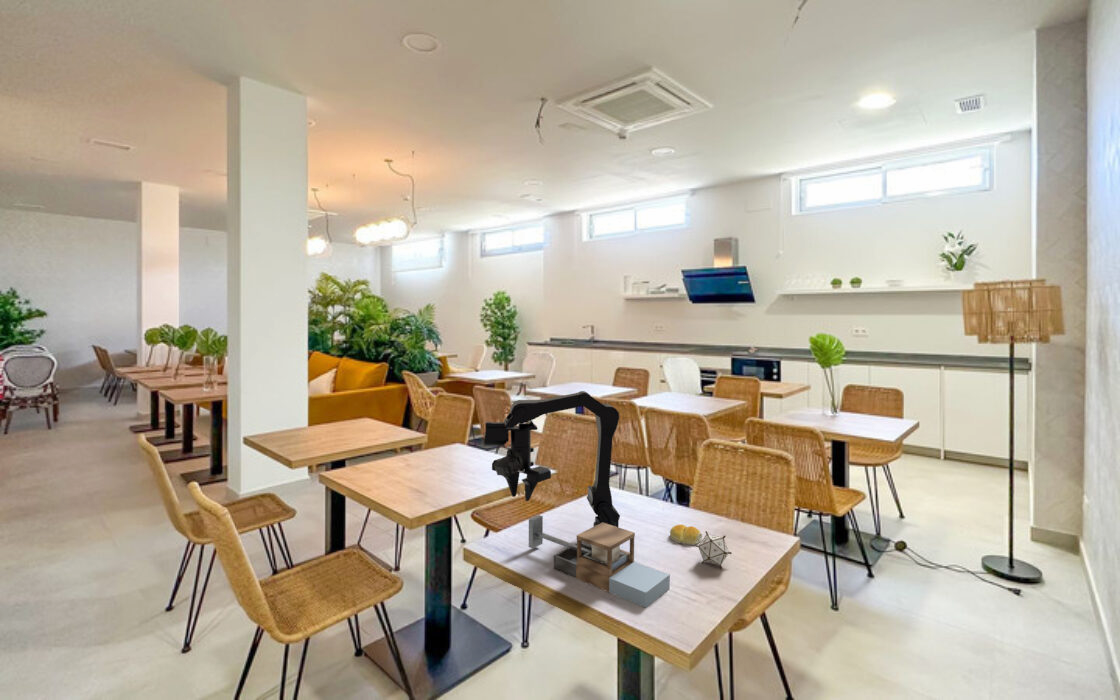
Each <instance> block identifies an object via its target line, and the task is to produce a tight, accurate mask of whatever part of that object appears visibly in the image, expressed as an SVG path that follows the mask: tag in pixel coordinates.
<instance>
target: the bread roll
mask: <svg viewBox="0 0 1120 700" xmlns="http://www.w3.org/2000/svg"><path fill="white" fill-rule="evenodd" d="M669 534H670V535H669V536H670V538H671V540H673V542H675V543H678V544H683V545H689V546H695V545H699V544H700V543H701V541H702V540H703V539H702V537H703V534H702V533H701V531H700V530H699V529H698V528H697V527H694V526H687V525H684V524H676V525H674V526H672V528H670V530H669Z"/></svg>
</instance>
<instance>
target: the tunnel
mask: <svg viewBox="0 0 1120 700" xmlns="http://www.w3.org/2000/svg"><path fill="white" fill-rule="evenodd" d="M635 535H636V532H634V531H630V530H628V529H624V528H621V527H620V526H618V527H616V526H612V525H609V524H606V523H603V522H602V523H600V524H598V525H596V526H594V525H593V527H590V528H588V529H587V530H585V531H582V532H581V533H579V534H576V543H574V545H577V551H576V550H573V549H570V548H568V547H566V548H565V549H564V550H562V551H559V552H558V553H556V554H554V555H553V570H554V571H555V570H556V572H557V571H558V572H560V573H563V574H565V575H567V576H569V577H572V578H574V579H577V580H579V581H582V582H583V583H586V584H589V585H591V586H594V587H596V588H598V589H601V590H602V591H605V592H608V593H610V592H609V578H610V577H612V576H613V575H615V574H616V573H618V572H619V571H621V570H622V569H624V568H625V567H627V566H628V565H630V564H631V563H633V562H635V537H636V536H635ZM626 542H629V551H625V550H623V549H620V552H623V553H626V554H628V562H626V563H625V564H623V565H622V566H620V567H619V568H617V569H616V570H614V571H612V550H613V549H614V548H616V547H618V546H619V545H620V546H621V545H623V544H625V543H626ZM592 545H594V546H597V547H599V548H602V549H605V550H607V566H605V565H602V564H600V563H597V562H594V561H592V560H589V559H587V558H584V557H583V555H585V554H584V553H581V547H582V548H585V549H588V550H591V551H592Z"/></svg>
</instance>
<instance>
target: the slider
mask: <svg viewBox="0 0 1120 700" xmlns="http://www.w3.org/2000/svg"><path fill="white" fill-rule="evenodd" d="M543 518H544V517H543V515H540V514H537V515H534V516H533V517H530V518H528V548H530V549H535V548H537V547H539V546H541V545H543V544H544V543H543V539H544V540H547V541H550V542H552V543H554V544H557V545H559V546H563V547H565V548H570V549H573V550H576V551H577V545H575V543H571V542H569V541H566V540H563V539H561V538H558V537H555V536H552V535H549V534H546V533H544V532H543V527H544V526H543V523H544V519H543ZM581 553H584V554H585V555H583V557H584V558H587V559H589V560H592V561H594V562H597V563H600V564H602V565H605V566H607V563H604V562H602V561H599V560H596V559H594V558H592V551H591V550H588V549H585V548H582V547H581ZM626 562H628V554H626V553H623V552H620V558H619V559H617V560H615V561H614V562H612V571H614V570H616V569H617V568H619V567H620V566H622V565H623V564H625V563H626Z"/></svg>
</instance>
